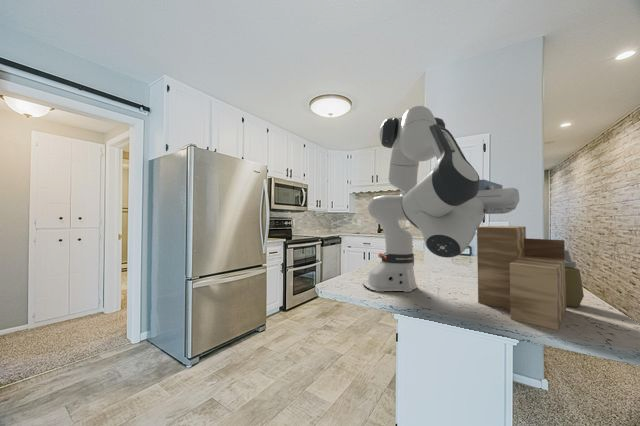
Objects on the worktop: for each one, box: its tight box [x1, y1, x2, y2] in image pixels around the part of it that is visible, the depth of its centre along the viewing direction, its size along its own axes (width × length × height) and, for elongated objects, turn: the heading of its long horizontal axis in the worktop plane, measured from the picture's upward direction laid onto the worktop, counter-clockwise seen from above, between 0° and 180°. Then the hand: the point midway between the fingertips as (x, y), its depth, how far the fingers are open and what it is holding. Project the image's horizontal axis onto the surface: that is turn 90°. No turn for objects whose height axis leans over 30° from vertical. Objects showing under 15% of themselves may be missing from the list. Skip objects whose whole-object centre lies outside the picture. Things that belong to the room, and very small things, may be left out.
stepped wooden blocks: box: [476, 225, 567, 331], centre depth 83 cm, size 23×21×26 cm
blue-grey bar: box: [478, 179, 503, 191], centre depth 78 cm, size 19×4×5 cm, turn 132°
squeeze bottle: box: [565, 249, 585, 308], centre depth 86 cm, size 8×8×18 cm
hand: (479, 188), depth 74 cm, fingers closed on blue-grey bar, 4 cm apart
